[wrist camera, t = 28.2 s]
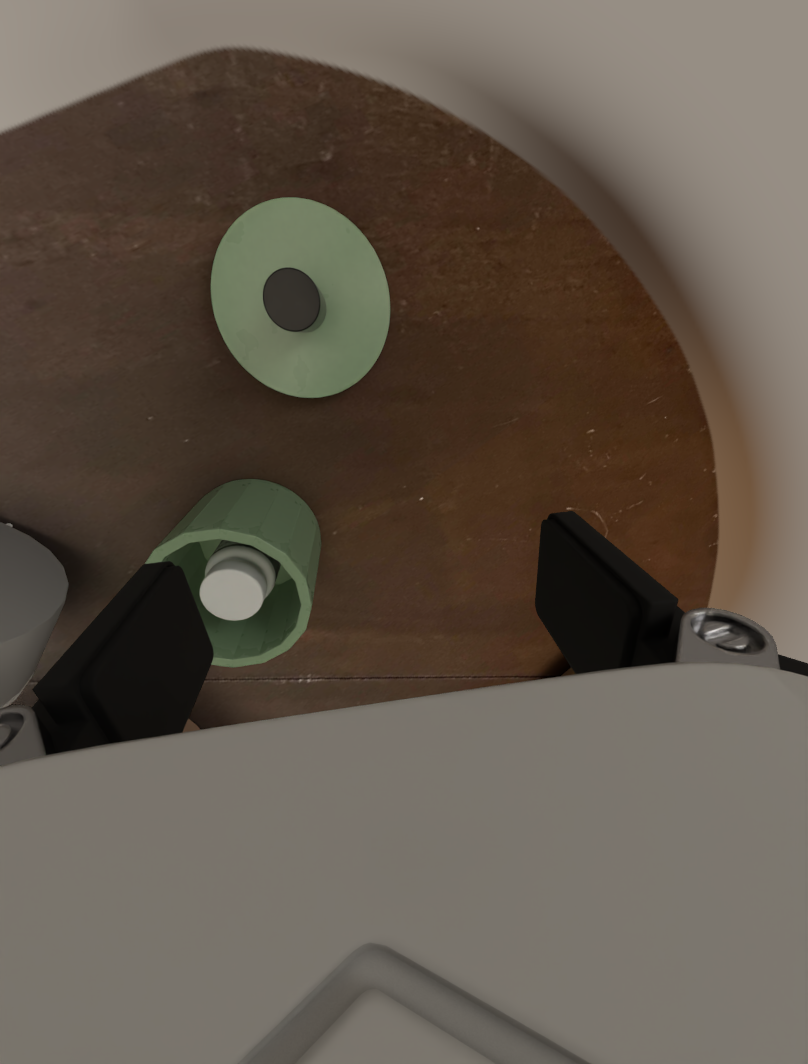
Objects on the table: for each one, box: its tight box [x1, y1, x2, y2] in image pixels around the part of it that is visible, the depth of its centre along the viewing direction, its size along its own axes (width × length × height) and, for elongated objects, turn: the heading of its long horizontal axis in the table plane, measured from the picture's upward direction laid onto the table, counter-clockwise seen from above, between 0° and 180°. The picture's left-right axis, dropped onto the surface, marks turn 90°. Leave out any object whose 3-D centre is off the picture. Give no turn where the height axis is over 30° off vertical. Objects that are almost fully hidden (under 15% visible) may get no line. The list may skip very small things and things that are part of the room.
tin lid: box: [211, 197, 390, 398], centre depth 25 cm, size 11×11×7 cm
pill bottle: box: [200, 540, 281, 621], centre depth 30 cm, size 5×5×8 cm
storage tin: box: [145, 479, 321, 667], centre depth 30 cm, size 10×10×10 cm
